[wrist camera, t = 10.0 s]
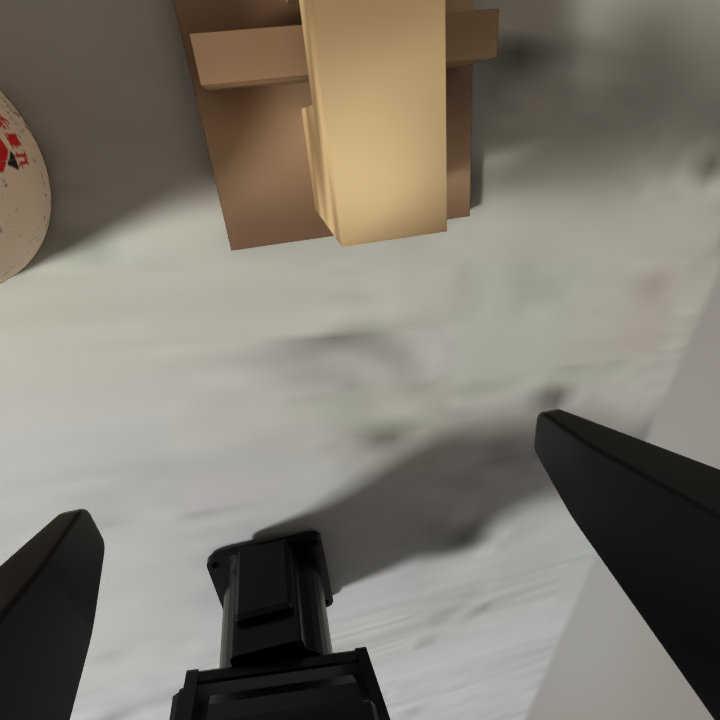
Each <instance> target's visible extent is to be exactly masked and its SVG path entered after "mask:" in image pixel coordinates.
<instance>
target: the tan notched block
mask: <svg viewBox="0 0 720 720" xmlns="http://www.w3.org/2000/svg"><path fill="white" fill-rule="evenodd" d="M286 1H287V5H289V4H300V12H301V20H302V27H303V35H304V43H305V51H306V59H307V67H308V74H309V82H310V90H311V98H312V105H310V106H307V107H304V108H302V117H303V124H304V131H305V138H306V146H307V153H308V160H309V167H310V175H311V182H312V189H313V196H314V204H315V210H316V211H317V212H318V214H319V215H320V217H321V218H322V219H323V221H324V222H325V224H326V225H327V226H328V228H329V229H330V230H331V232H332V233H333V235H334V236H335V237H336V239H337V240H338V242H339V243H340V244H341V246H342V247H343V246H350V245H357V244H364V243H370V242H377V241H384V240H391V239H397V238H404V237H411V236H417V235H424V234H431V233H438V232H444V231H447V186H446V46H445V0H286Z"/></svg>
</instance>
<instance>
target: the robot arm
mask: <svg viewBox="0 0 720 720" xmlns="http://www.w3.org/2000/svg"><path fill="white" fill-rule="evenodd" d="M535 450H536V453H537V455H538V457H539V459H540V461H541V463H542V464H543V466H544V468H545V470H546V472H547V473H548V475H549V477H550V479H551V481H552V482H553V484H554V486H555V488H556V490H557V491H558V493H559V495H560V497H561V499H562V500H563V502H564V504H565V506H566V507H567V509H568V511H569V512H570V514H571V516H572V517H573V519H574V520H575V522H576V523H577V525H578V526H579V528H580V529H581V531H582V532H583V533H584V535H585V536H586V538H587V539H588V541H589V542H590V543H591V545H592V546H593V548H594V549H595V550H596V552H597V553H598V555H599V556H600V558H601V559H602V560H603V562H604V563H605V565H606V566H607V567H608V569H609V570H610V572H611V573H612V575H613V576H614V578H615V579H616V580H617V582H618V583H619V584H620V586H621V587H622V589H623V590H624V592H625V593H626V595H627V596H628V597H629V599H630V600H631V602H632V603H633V605H634V606H635V607H636V609H637V610H638V612H639V613H640V614H641V616H642V617H643V619H644V620H645V622H646V623H647V624H648V626H649V627H650V629H651V630H652V632H653V633H654V634H655V636H656V637H657V639H658V640H659V642H660V643H661V644H662V646H663V647H664V649H665V650H666V652H667V653H668V654H669V656H670V657H671V658H672V660H673V661H674V663H675V664H676V666H677V667H678V669H679V670H680V671H681V673H682V674H683V676H684V677H685V679H686V680H687V681H688V683H689V684H690V685H691V687H692V689H693V690H694V691H695V693H696V694H697V696H698V697H699V698H700V700H701V701H702V703H703V704H704V706H705V707H706V708H707V710H708V711H709V713H710V714H711V715H712V717H713V718H714V720H720V470H719V469H716V468H714V467H711V466H708V465H705V464H703V463H700V462H698V461H695V460H692V459H690V458H687V457H684V456H682V455H679V454H676V453H674V452H671V451H669V450H666V449H663V448H661V447H658V446H655V445H652V444H650V443H647V442H645V441H642V440H639V439H637V438H634V437H632V436H629V435H626V434H624V433H621V432H618V431H616V430H613V429H610V428H608V427H605V426H602V425H600V424H597V423H594V422H592V421H589V420H587V419H584V418H581V417H579V416H576V415H573V414H571V413H568V412H565V411H563V410H560V409H554V410H549V411H545V412H541V413H540V414H539V415H538V417H537V424H536V434H535ZM310 540H311V541H310ZM103 558H104V541H103V538H102V536H101V534H100V532H99V530H98V528H97V526H96V524H95V522H94V520H93V519H92V517H91V515H90V513H89V512H88V511H87V510H85V509H78V510H73V511H68V512H64V513H61V514H59V515H58V516H57V517H56V518H54V519H53V520H52V521H51V522H50V523H49V524H48V525H46V526H45V527H44V528H43V529H42V530H41V531H40V532H39V533H37V534H36V535H35V536H34V537H33V538H32V539H31V540H29V541H28V542H27V543H26V544H25V545H24V546H23V547H22V548H20V549H19V550H18V551H17V552H16V553H15V554H14V555H12V556H11V557H10V558H9V559H8V560H7V561H6V562H4V563H3V564H2V565H1V566H0V720H70V716H71V713H72V709H73V705H74V701H75V697H76V693H77V690H78V686H79V682H80V678H81V674H82V671H83V667H84V663H85V659H86V655H87V652H88V648H89V643H90V639H91V635H92V630H93V624H94V618H95V612H96V605H97V598H98V591H99V585H100V578H101V571H102V564H103ZM215 562H218V563H215ZM207 568H208V571H209V574H210V576H211V579H212V582H213V584H214V587H215V589H216V592H217V595H218V597H219V600H220V602H221V605H222V608H223V622H222V637H221V652H220V668H219V669H211V670H204V671H199V669H194V670H187V672H186V677H185V683H184V688H183V689H180V690H179V693H177V694H176V695H174V696H173V700H172V707H171V714H170V720H390V718H389V714H388V711H387V708H386V705H385V702H384V699H383V696H382V693H381V691H380V688H379V685H378V682H377V679H376V676H375V673H374V670H373V667H372V664H371V661H370V658H369V655H368V652H367V649H366V647H361V648H355V650H354V651H346V652H339V653H333V652H332V645H331V638H330V632H329V625H328V618H327V611H326V607H329V606H330V605H332V603H333V597H332V592H331V587H330V581H329V576H328V571H327V566H326V561H325V556H324V551H323V546H322V541H321V536H320V534H319V533H318V532H316V531H310V532H306V533H301V534H297V535H293V536H288V537H284V538H280V539H275V540H271V541H267V542H262V543H258V544H254V545H249V546H245V547H241V548H236V549H232V550H228V551H223V552H219V553H215V554H212V555H210V556H209V557H208V560H207Z"/></svg>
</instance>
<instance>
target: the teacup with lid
mask: <svg viewBox="0 0 720 720" xmlns="http://www.w3.org/2000/svg"><path fill="white" fill-rule="evenodd" d="M50 214H51V190H50V183H49V178H48V174H47V169H46V166H45V163H44V160H43V157H42V154H41V152H40V150H39V147H38V145H37V143H36V141H35V139H34V137H33V135H32V133H31V132H30V130H29V128H28V126H27V125H26V123H25V122H24V120H23V119H22V117H21V116H20V114H19V113H18V112H17V110H16V109H15V108H14V106H13V105H12V104H11V102H10V101H9V100H8V99H7V98H6V97H5V95H4V94H3V93H2V92H1V91H0V284H1V283H3V282H5V281H6V280H8V279H9V278H11V277H12V276H14V275H15V274H17V273H18V272H19V271H20V270H21V269H23V268H24V267H25V266H26V265H27V264H28V263H29V262H30V260H31V259H32V258H33V257H34V256H35V254H36V253H37V251H38V250H39V248H40V246H41V244H42V242H43V240H44V238H45V235H46V232H47V229H48V225H49V221H50Z"/></svg>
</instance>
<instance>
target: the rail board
mask: <svg viewBox="0 0 720 720" xmlns="http://www.w3.org/2000/svg"><path fill="white" fill-rule="evenodd" d="M174 4H175V9H176V13H177V17H178V22H179V26H180V30H181V35H182V39H183V43H184V48H185V52H186V56H187V61H188V65H189V69H190V74H191V78H192V82H193V87H194V91H195V95H196V100H197V104H198V108H199V112H200V117H201V121H202V125H203V130H204V134H205V138H206V143H207V147H208V151H209V156H210V160H211V164H212V169H213V173H214V177H215V182H216V186H217V190H218V195H219V199H220V203H221V208H222V212H223V216H224V221H225V225H226V229H227V234H228V238H229V242H230V247H231V251H232V250H239V249H245V248H252V247H259V246H266V245H273V244H280V243H287V242H294V241H301V240H308V239H315V238H321V237H328V236H334V235H333V233H332V232H331V230H330V229H329V228H328V226H327V225H326V224H325V222H324V221H323V219H322V218H321V217H320V215H319V214H318V212H317V211H316V210H315V204H314V196H313V189H312V182H311V175H310V167H309V160H308V153H307V146H306V138H305V131H304V124H303V117H302V108H304V107H307V106H310V105H312V98H311V90H310V82H309V74H308V67H307V59H306V51H305V43H304V35H303V27H302V20H301V12H300V4H289V5H287V1H286V0H174ZM498 14H499V9H489V10H476V11H473V0H445V46H446V186H447V219H453V218H460V217H467V216H470V170H471V107H472V64H473V63H476V62H480V61H483V60H487V59H490V58H493V57H497V41H498Z"/></svg>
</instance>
